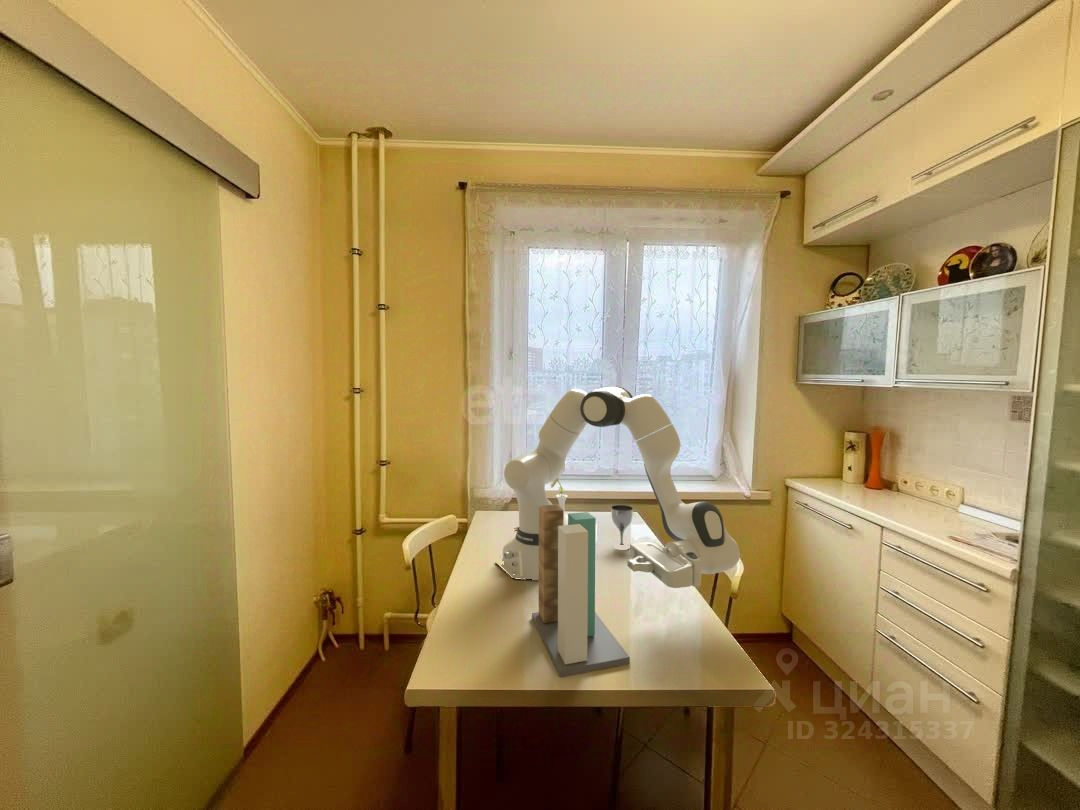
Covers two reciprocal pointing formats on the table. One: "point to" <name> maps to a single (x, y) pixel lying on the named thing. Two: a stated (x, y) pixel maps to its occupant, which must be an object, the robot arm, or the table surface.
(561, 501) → the flower in vase
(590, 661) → the board
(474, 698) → the table surface
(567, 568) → the cream post
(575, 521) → the teal post
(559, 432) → the robot arm
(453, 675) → the table surface
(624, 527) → the wine glass
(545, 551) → the walnut post
